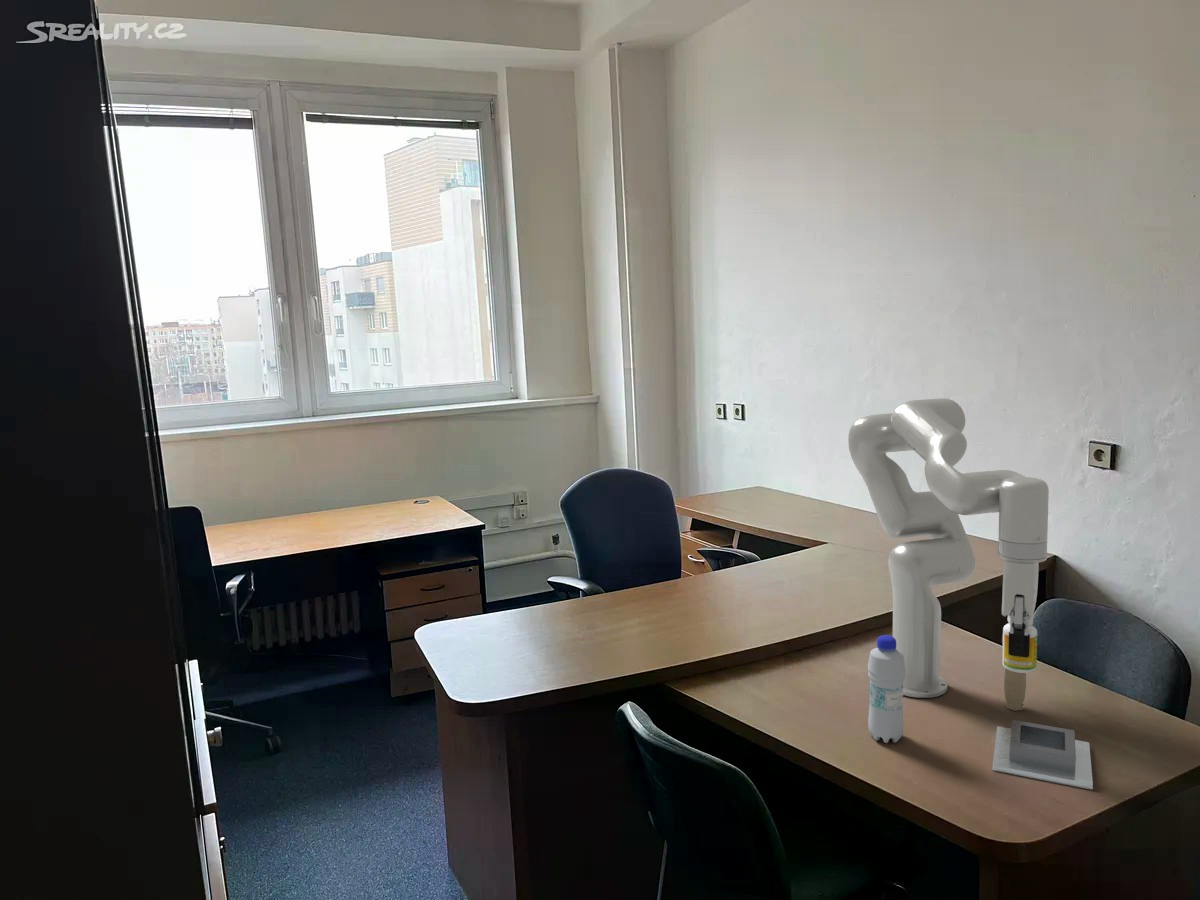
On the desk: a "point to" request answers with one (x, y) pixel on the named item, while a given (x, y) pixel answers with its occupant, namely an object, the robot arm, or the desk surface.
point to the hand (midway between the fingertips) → (1019, 648)
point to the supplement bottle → (1018, 662)
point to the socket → (1043, 754)
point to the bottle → (886, 690)
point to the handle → (1014, 689)
